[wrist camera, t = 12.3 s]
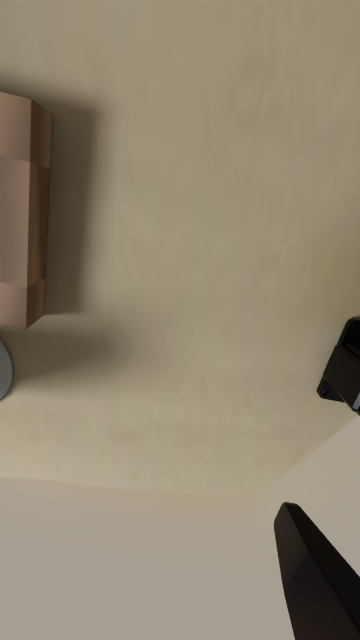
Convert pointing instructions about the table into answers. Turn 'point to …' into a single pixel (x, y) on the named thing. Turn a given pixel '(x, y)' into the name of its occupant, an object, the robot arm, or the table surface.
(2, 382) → the grey oval disc
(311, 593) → the robot arm
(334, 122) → the table surface
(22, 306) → the holder block
